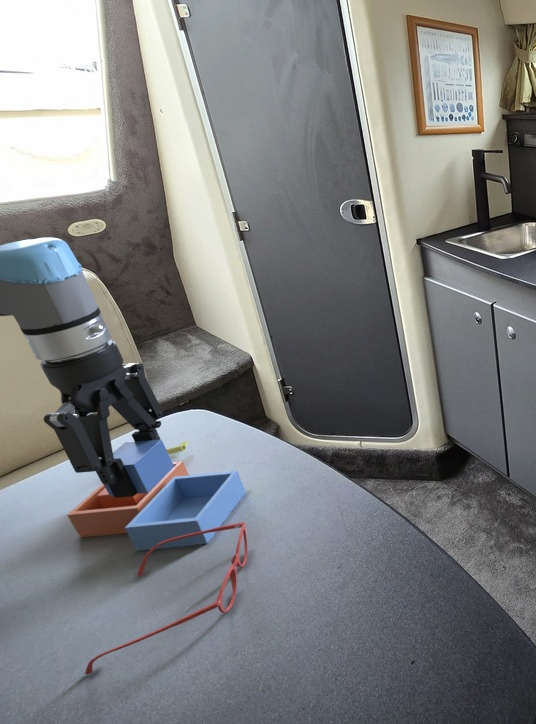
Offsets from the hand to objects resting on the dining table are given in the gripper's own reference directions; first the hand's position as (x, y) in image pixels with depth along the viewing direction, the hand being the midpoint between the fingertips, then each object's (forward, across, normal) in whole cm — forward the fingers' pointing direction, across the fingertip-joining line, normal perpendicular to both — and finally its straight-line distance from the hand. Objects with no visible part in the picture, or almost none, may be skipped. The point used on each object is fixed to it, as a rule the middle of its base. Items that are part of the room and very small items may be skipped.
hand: (142, 479), depth 77 cm
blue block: (0, 0, 0) cm, 0 cm away
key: (+13, +21, +19) cm, 31 cm away
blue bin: (+13, +4, -1) cm, 14 cm away
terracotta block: (+12, +8, +11) cm, 18 cm away
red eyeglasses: (+13, -11, -9) cm, 19 cm away
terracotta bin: (+13, +8, +11) cm, 19 cm away
